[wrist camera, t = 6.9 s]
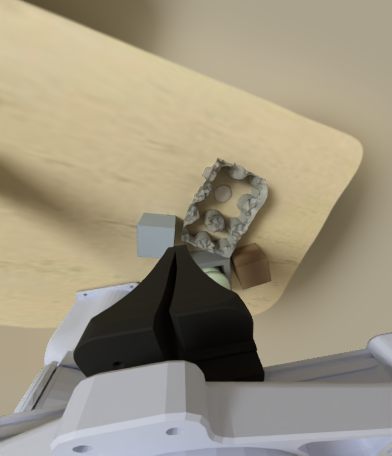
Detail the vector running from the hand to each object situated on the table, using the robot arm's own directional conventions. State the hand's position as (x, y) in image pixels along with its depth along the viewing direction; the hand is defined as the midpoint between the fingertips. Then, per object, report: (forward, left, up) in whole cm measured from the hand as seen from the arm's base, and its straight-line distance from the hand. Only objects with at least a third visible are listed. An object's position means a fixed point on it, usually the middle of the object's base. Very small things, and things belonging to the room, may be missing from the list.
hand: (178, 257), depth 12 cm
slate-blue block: (-3, -2, -10) cm, 11 cm away
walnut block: (+8, -9, -10) cm, 16 cm away
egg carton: (+5, 0, -11) cm, 12 cm away
